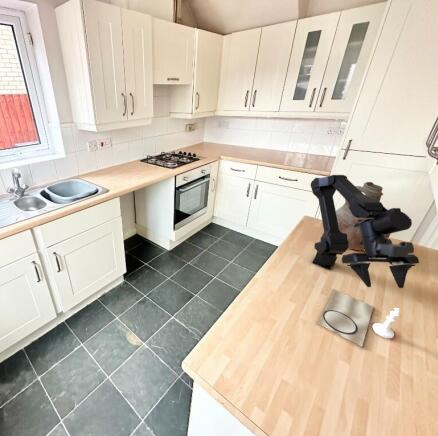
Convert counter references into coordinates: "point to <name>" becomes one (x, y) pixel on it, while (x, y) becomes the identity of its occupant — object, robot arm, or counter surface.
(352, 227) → the jug
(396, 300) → the counter surface
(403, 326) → the counter surface
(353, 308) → the grey plate with ring
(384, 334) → the chess piece
